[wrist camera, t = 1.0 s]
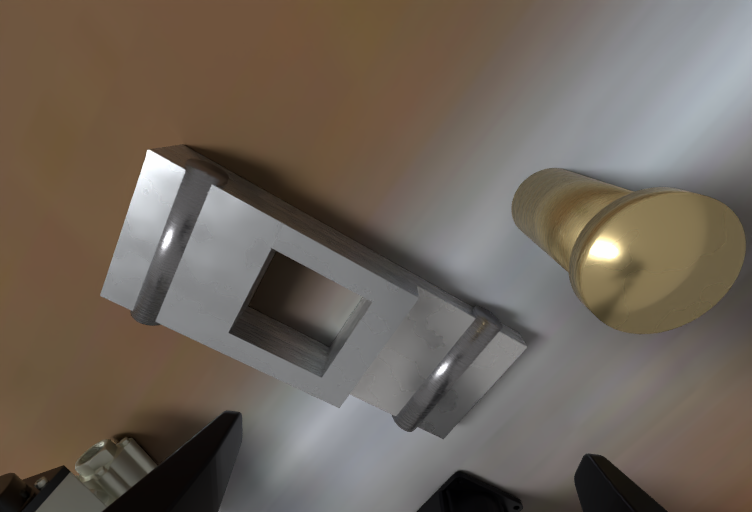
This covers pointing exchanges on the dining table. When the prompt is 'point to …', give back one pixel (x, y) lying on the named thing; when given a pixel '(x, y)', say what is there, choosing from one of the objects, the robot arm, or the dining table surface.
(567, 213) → the brass knob
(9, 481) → the pneumatic valve
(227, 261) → the silver plate
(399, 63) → the dining table surface
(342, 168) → the dining table surface
